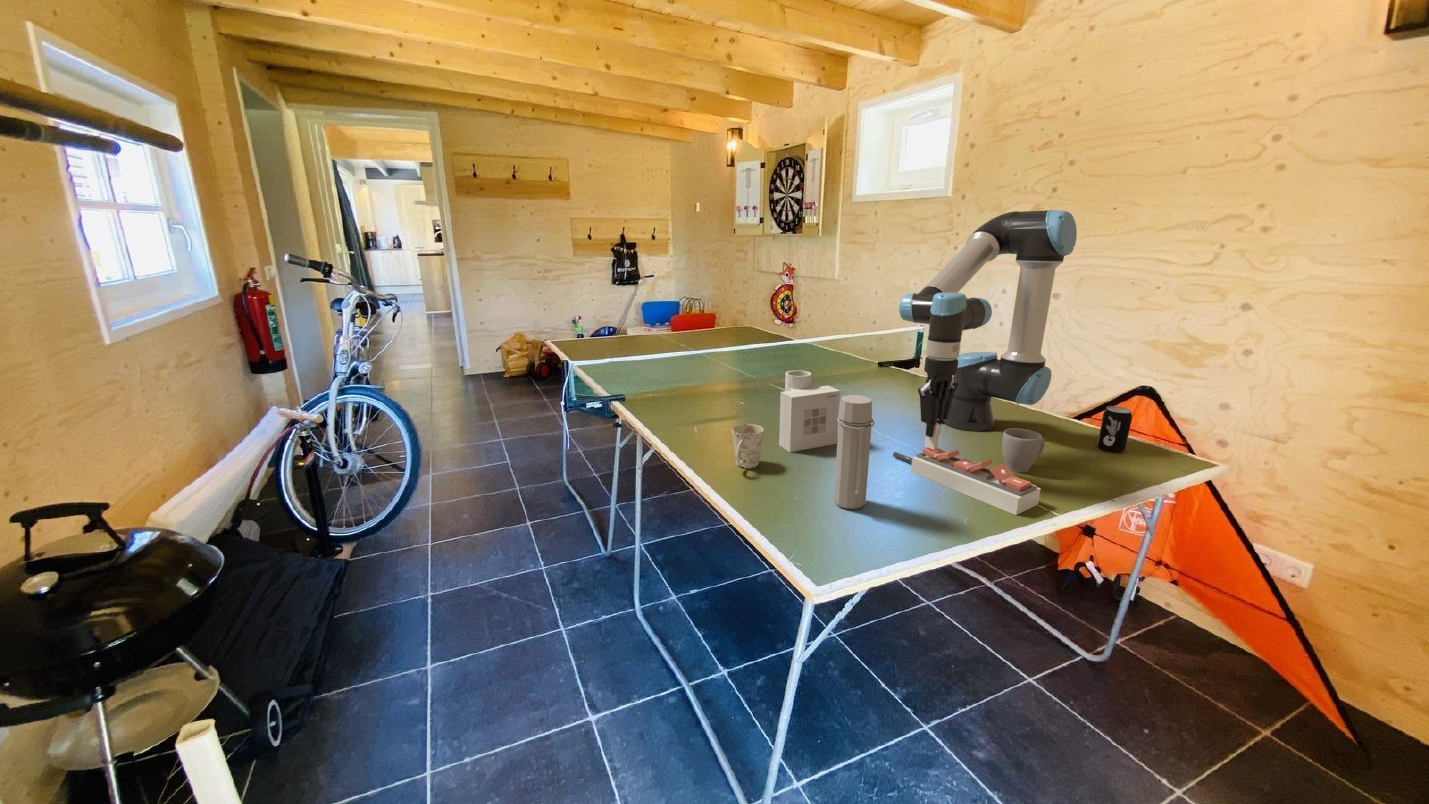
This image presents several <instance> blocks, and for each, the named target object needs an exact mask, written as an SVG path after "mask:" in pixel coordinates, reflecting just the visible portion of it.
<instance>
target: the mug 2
mask: <svg viewBox="0 0 1429 804" xmlns="http://www.w3.org/2000/svg"><path fill="white" fill-rule="evenodd" d="M1045 445H1046V441H1045V438H1044V437H1043V436H1042V434H1040V433H1039V432H1037V431H1034V430H1031V429H1026V428H1017V427H1013V428H1011V427H1010V428H1006V429H1005V430H1004V431H1003V434H1002V442H1001V446H1002V447H1001V449H1002V457H1003V460H1004V464H1005V466H1006V467H1007V468H1008V469H1009V470H1010V471H1011V472H1016V473H1028V472H1029V471H1030V469H1031V467H1032V466H1033V465H1034V463H1035V461H1037V459H1038V458H1040V456H1041V455H1042V454H1043V451H1044V450H1045Z"/></svg>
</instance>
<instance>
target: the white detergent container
mask: <svg viewBox="0 0 1429 804" xmlns="http://www.w3.org/2000/svg"><path fill="white" fill-rule="evenodd" d="M784 379H785V382H784V384H785V385H784V391H780V395H779V396H780V400H779V401H780V406H779V408H780V409H779V436H778V437H779V438H778V439H779V440H778V446H779V445H780V446H779V447H781V446H782V447H783V448H782V447H781V448H782V449H784V450H785V449H786V450H785V451H787V452H789V453H794V452H798V451H803V450H809V449H815V448H820V447H826V446H831V445H832V446H833V445H837V443H838V426H839V422H838V421H837V418H838V415H839V409H840V403H841V390H840V389H838V388H835V387H833V386H830V385H822V386H814V385H812V373H811V372H810V371H806V370H798V369H797V370H787V371H785V378H784Z"/></svg>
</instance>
